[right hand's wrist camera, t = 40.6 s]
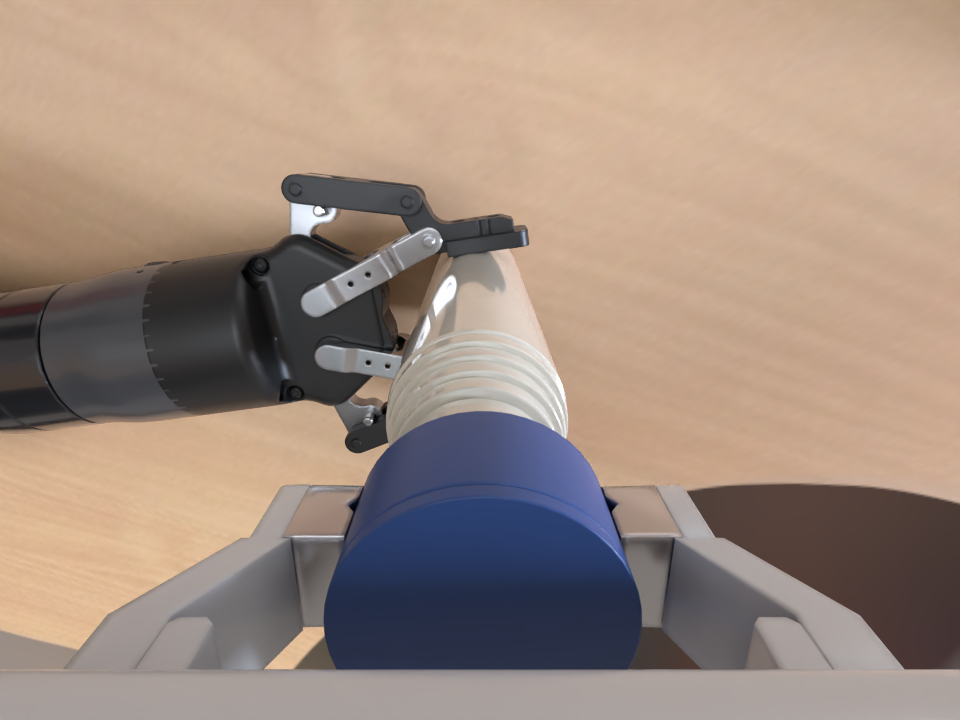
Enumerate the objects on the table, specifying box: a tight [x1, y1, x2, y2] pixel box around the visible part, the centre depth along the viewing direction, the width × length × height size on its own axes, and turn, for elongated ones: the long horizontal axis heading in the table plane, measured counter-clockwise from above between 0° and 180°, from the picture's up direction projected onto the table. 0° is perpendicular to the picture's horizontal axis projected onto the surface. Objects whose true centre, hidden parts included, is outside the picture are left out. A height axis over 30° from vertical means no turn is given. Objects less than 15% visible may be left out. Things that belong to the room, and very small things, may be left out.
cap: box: [323, 411, 642, 670], centre depth 9 cm, size 4×4×3 cm
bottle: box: [386, 249, 568, 447], centre depth 21 cm, size 5×5×25 cm
